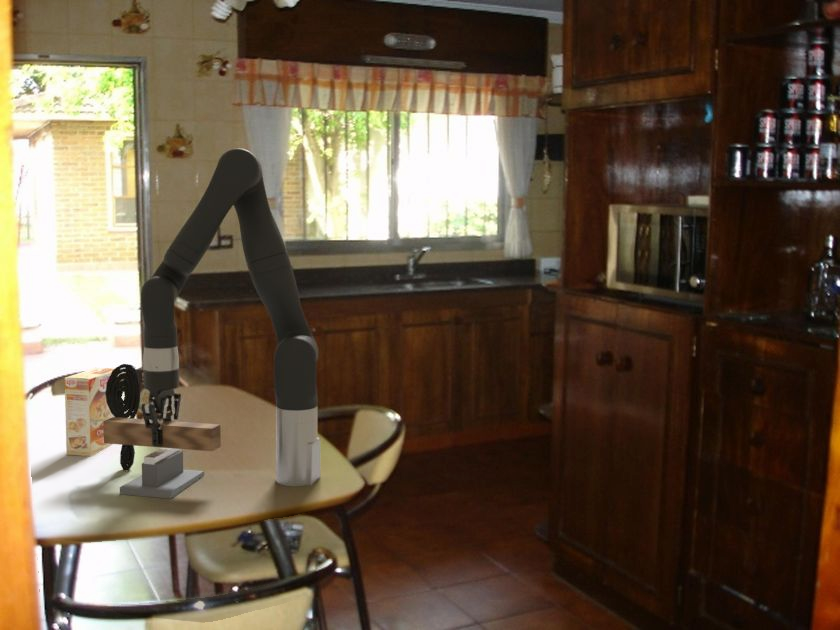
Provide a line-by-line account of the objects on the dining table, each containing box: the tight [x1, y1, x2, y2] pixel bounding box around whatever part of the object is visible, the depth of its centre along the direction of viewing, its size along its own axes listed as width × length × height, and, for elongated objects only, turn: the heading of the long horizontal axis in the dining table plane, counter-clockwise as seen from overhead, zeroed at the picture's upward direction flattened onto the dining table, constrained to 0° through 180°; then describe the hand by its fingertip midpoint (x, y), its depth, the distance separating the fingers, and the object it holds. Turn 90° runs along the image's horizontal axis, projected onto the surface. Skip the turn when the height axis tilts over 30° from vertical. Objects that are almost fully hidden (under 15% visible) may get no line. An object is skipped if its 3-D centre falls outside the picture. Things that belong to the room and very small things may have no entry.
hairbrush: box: [105, 363, 142, 471], centre depth 218 cm, size 8×4×25 cm, turn 81°
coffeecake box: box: [64, 367, 118, 457], centre depth 237 cm, size 15×7×20 cm, turn 170°
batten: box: [103, 417, 222, 452], centre depth 207 cm, size 26×4×5 cm, turn 77°
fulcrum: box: [119, 447, 205, 499], centre depth 207 cm, size 12×16×8 cm
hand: (162, 443), depth 207 cm, fingers closed on batten, 4 cm apart
